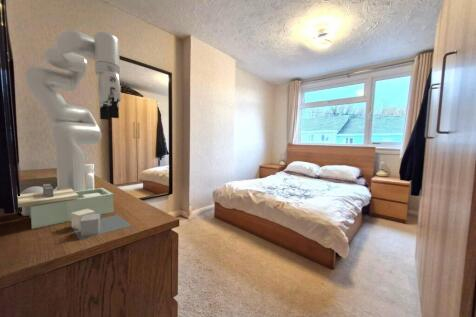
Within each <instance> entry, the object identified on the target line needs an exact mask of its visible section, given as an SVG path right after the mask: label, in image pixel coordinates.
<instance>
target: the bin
mask: <svg viewBox="0 0 476 317" xmlns="http://www.w3.org/2000/svg"><path fill="white" fill-rule="evenodd" d="M75 192H76V193H77V194H78V196H79V198H78V199H72V200H65V201H58V202H52V203H45V204H38V205H32V206H29V212H30V215H29V218H30V219H31V230H33V229H39V228H44V227H49V226H52V225H57V224H61V223H66V222H67V223H68V222H72V220H71V213H72V212H76V211H80V210H84V209H90V210H93V211H95V214H100V216H101V215H105V214H109V213H114V212H115V208H114V205H115V204H114V193H113V192H111V191H109V190H107V189H106V188H104V187H99V188H94V189H90V190H83V191H75ZM92 193H99V194H101V195H98V196H92V197H85V198H83V196H82V195H85V194H92Z"/></svg>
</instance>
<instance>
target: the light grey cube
mask: <svg viewBox="0 0 476 317" xmlns="http://www.w3.org/2000/svg"><path fill="white" fill-rule="evenodd" d="M100 219H101V215H100V214H92V215H84V216H83V218H82V220H81V221H80V224H81V237H84V236H90V235H96V234H99V231H100V228H101V221H100ZM96 236H97V235H96Z"/></svg>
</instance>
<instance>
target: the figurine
mask: <svg viewBox="0 0 476 317" xmlns="http://www.w3.org/2000/svg"><path fill="white" fill-rule="evenodd" d="M84 166H85V184H86V190H90V189H95V163H89V164H88V163H87V164H85V165H84Z"/></svg>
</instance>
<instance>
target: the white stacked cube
mask: <svg viewBox="0 0 476 317" xmlns="http://www.w3.org/2000/svg"><path fill="white" fill-rule="evenodd" d="M98 195H101V194H99V193H92V194H85V195H82V196H83V198H85V197H92V196H98Z"/></svg>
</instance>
